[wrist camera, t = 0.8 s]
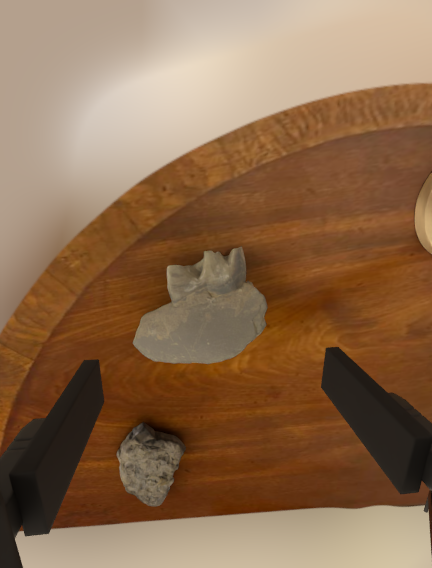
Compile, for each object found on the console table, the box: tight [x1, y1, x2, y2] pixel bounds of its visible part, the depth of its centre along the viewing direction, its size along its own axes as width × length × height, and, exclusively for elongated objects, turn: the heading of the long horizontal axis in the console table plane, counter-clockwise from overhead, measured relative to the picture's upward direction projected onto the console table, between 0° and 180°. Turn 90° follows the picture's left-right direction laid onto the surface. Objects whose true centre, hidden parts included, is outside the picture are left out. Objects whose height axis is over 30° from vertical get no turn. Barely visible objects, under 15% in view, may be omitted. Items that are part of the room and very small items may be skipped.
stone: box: [117, 422, 186, 506], centre depth 36 cm, size 14×8×3 cm, turn 162°
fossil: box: [133, 246, 267, 364], centre depth 28 cm, size 14×10×10 cm
